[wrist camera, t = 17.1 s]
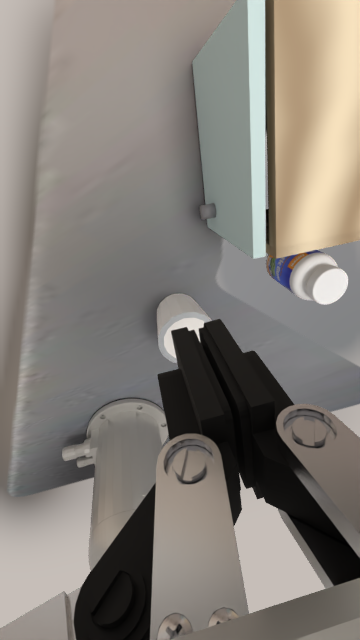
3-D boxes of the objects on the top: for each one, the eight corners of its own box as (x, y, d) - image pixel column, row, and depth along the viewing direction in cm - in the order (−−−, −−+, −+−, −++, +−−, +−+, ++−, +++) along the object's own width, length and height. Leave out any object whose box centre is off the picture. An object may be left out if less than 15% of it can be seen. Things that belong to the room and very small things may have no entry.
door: (195, 229, 35) (235, 262, 23) (177, 63, 28) (221, -12, 16) (215, 225, 35) (265, 256, 23) (202, 60, 28) (265, -17, 16)
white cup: (196, 337, 42) (209, 367, 36) (147, 332, 40) (152, 362, 34) (208, 292, 39) (224, 316, 33) (156, 285, 38) (164, 308, 31)
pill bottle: (275, 234, 37) (321, 254, 29) (310, 244, 39) (364, 267, 30) (258, 275, 40) (296, 305, 31) (292, 283, 41) (338, 314, 33)
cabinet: (221, 226, 36) (276, 258, 23) (204, 51, 28) (273, -39, 16) (330, 202, 37) (439, 222, 24) (343, 29, 29) (511, -71, 17)
